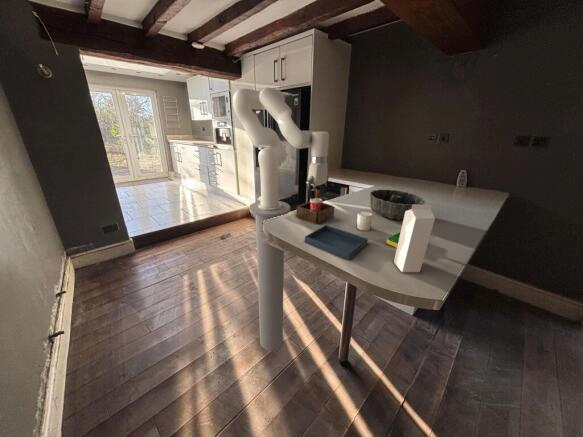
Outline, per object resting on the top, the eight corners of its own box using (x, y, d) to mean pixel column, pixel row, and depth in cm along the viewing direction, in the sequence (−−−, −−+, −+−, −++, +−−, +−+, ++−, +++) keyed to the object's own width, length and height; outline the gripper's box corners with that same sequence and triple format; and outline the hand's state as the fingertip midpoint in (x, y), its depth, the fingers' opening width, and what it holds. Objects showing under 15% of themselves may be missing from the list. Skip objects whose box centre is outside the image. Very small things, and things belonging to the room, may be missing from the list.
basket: (295, 216, 116) (295, 206, 114) (311, 209, 126) (312, 200, 124) (318, 224, 107) (319, 213, 105) (334, 216, 117) (335, 206, 115)
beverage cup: (321, 215, 119) (324, 188, 113) (320, 219, 113) (322, 192, 108) (310, 213, 120) (311, 187, 115) (307, 218, 115) (309, 190, 109)
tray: (304, 242, 91) (305, 236, 90) (325, 230, 102) (325, 224, 101) (348, 259, 80) (349, 253, 79) (366, 244, 91) (367, 238, 90)
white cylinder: (366, 224, 109) (368, 210, 106) (374, 230, 103) (376, 216, 100) (353, 225, 108) (354, 211, 105) (360, 231, 102) (362, 216, 99)
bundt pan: (420, 211, 128) (424, 193, 124) (420, 228, 107) (425, 207, 103) (371, 203, 139) (374, 186, 136) (362, 217, 118) (365, 198, 114)
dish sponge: (420, 241, 95) (421, 235, 94) (403, 251, 87) (404, 245, 86) (403, 234, 100) (404, 229, 99) (386, 243, 92) (387, 238, 91)
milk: (419, 272, 74) (439, 208, 66) (401, 272, 74) (418, 208, 66) (410, 261, 80) (426, 201, 71) (393, 261, 80) (407, 201, 71)
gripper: (322, 157, 114) (320, 191, 121) (301, 161, 102) (300, 198, 108) (335, 159, 110) (333, 193, 116) (315, 163, 97) (313, 201, 104)
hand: (317, 196), depth 112 cm, fingers open, 9 cm apart
